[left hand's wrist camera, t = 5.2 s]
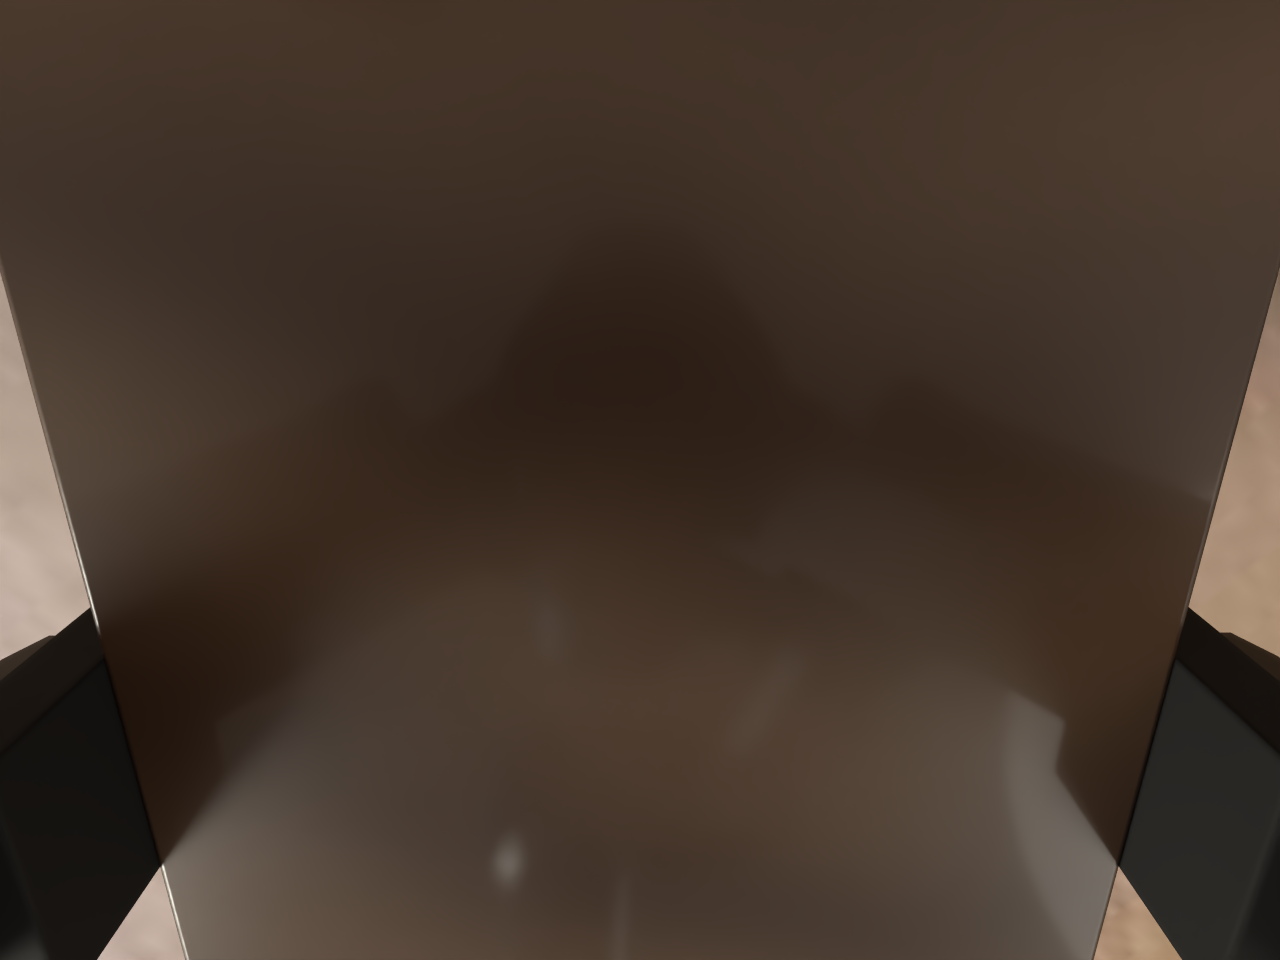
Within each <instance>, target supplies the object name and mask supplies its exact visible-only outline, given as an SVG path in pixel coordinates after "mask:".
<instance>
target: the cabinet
mask: <svg viewBox="0 0 1280 960" xmlns="http://www.w3.org/2000/svg"><path fill="white" fill-rule="evenodd" d="M1279 268H1280V0H0V272H1V276H2V279H3V283H4V287H5V291H6V294H7V298H8V302H9V306H10V309H11V313H12V317H13V320H14V324H15V328H16V332H17V335H18V339H19V343H20V346H21V350H22V354H23V358H24V361H25V365H26V369H27V372H28V376H29V380H30V384H31V387H32V391H33V395H34V399H35V402H36V406H37V410H38V413H39V417H40V421H41V425H42V428H43V432H44V436H45V439H46V443H47V447H48V451H49V454H50V458H51V462H52V465H53V469H54V473H55V477H56V480H57V484H58V488H59V492H60V495H61V499H62V503H63V506H64V510H65V514H66V518H67V521H68V525H69V529H70V532H71V536H72V540H73V544H74V547H75V551H76V555H77V558H78V562H79V566H80V570H81V573H82V577H83V581H84V585H85V588H86V592H87V596H88V599H89V603H90V607H91V611H92V614H93V618H94V622H95V625H96V629H97V633H98V637H99V640H100V644H101V648H102V651H103V655H104V659H105V663H106V666H107V670H108V674H109V678H110V681H111V685H112V689H113V692H114V696H115V700H116V704H117V707H118V711H119V715H120V718H121V722H122V726H123V730H124V733H125V737H126V741H127V744H128V748H129V752H130V756H131V759H132V763H133V767H134V771H135V774H136V778H137V782H138V785H139V789H140V793H141V797H142V800H143V804H144V808H145V811H146V815H147V819H148V823H149V826H150V830H151V834H152V837H153V841H154V845H155V849H156V852H157V856H158V860H159V864H160V867H161V871H162V875H163V878H164V882H165V886H166V890H167V893H168V897H169V901H170V904H171V908H172V912H173V916H174V919H175V923H176V927H177V930H178V934H179V938H180V942H181V945H182V949H183V953H184V957H185V960H1093V959H1094V956H1095V952H1096V948H1097V944H1098V941H1099V937H1100V933H1101V930H1102V926H1103V922H1104V918H1105V915H1106V911H1107V907H1108V904H1109V900H1110V896H1111V892H1112V889H1113V885H1114V881H1115V877H1116V874H1117V870H1118V866H1119V863H1120V859H1121V855H1122V851H1123V848H1124V844H1125V840H1126V837H1127V833H1128V829H1129V825H1130V822H1131V818H1132V814H1133V811H1134V807H1135V803H1136V799H1137V796H1138V792H1139V788H1140V785H1141V781H1142V777H1143V773H1144V770H1145V766H1146V762H1147V759H1148V755H1149V751H1150V747H1151V744H1152V740H1153V736H1154V732H1155V729H1156V725H1157V721H1158V718H1159V714H1160V710H1161V706H1162V703H1163V699H1164V695H1165V692H1166V688H1167V684H1168V680H1169V677H1170V673H1171V669H1172V666H1173V662H1174V658H1175V654H1176V651H1177V647H1178V643H1179V640H1180V636H1181V632H1182V628H1183V625H1184V621H1185V617H1186V613H1187V610H1188V606H1189V602H1190V599H1191V595H1192V591H1193V587H1194V584H1195V580H1196V576H1197V573H1198V569H1199V565H1200V561H1201V558H1202V554H1203V550H1204V547H1205V543H1206V539H1207V535H1208V532H1209V528H1210V524H1211V521H1212V517H1213V513H1214V509H1215V506H1216V502H1217V498H1218V494H1219V491H1220V487H1221V483H1222V480H1223V476H1224V472H1225V468H1226V465H1227V461H1228V457H1229V454H1230V450H1231V446H1232V442H1233V439H1234V435H1235V431H1236V428H1237V424H1238V420H1239V416H1240V413H1241V409H1242V405H1243V402H1244V398H1245V394H1246V390H1247V387H1248V383H1249V379H1250V376H1251V372H1252V368H1253V364H1254V361H1255V357H1256V353H1257V349H1258V346H1259V342H1260V338H1261V335H1262V331H1263V327H1264V323H1265V320H1266V316H1267V312H1268V309H1269V305H1270V301H1271V297H1272V294H1273V290H1274V286H1275V283H1276V279H1277V275H1278V271H1279Z"/></svg>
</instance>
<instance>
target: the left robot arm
mask: <svg viewBox="0 0 1280 960" xmlns="http://www.w3.org/2000/svg"><path fill="white" fill-rule="evenodd" d="M159 867H160V864H159V860H158V856H157V852H156V849H155V845H154V841H153V837H152V834H151V830H150V826H149V823H148V819H147V815H146V811H145V808H144V804H143V800H142V797H141V793H140V789H139V785H138V782H137V778H136V774H135V771H134V767H133V763H132V759H131V756H130V752H129V748H128V744H127V741H126V737H125V733H124V730H123V726H122V722H121V718H120V715H119V711H118V707H117V704H116V700H115V696H114V692H113V689H112V685H111V681H110V678H109V674H108V670H107V666H106V663H105V659H104V655H103V651H102V648H101V644H100V640H99V637H98V633H97V629H96V625H95V622H94V618H93V614H92V611H91V607H90V608H89V609H88V610H86V611H85V612H84V613H83V614H82V615H80V616H79V617H78V618H77V619H75V620H74V621H73V622H72V623H70V624H69V625H68V626H67V627H66V628H64V629H63V630H62V631H61V632H59V633H58V634H57V635H56V636H48V637H46V638H44V639H42V640H40V641H38V642H36V643H34V644H32V645H30V646H28V647H26V648H24V649H22V650H20V651H18V652H16V653H14V654H12V655H10V656H8V657H6V658H4V659H2V660H1V661H0V960H97V959H98V957H99V956H100V954H101V953H102V951H103V950H104V948H105V947H106V945H107V944H108V943H109V941H110V940H111V938H112V937H113V935H114V934H115V932H116V931H117V929H118V928H119V926H120V925H121V923H122V922H123V920H124V919H125V917H126V916H127V915H128V913H129V912H130V910H131V909H132V907H133V906H134V904H135V903H136V901H137V900H138V898H139V897H140V895H141V894H142V892H143V891H144V890H145V888H146V887H147V885H148V884H149V882H150V881H151V879H152V878H153V876H154V875H155V873H156V872H157V870H158V869H159ZM1119 867H1120V869H1121V870H1122V872H1123V873H1124V875H1125V876H1126V878H1127V879H1128V881H1129V882H1130V883H1131V885H1132V886H1133V888H1134V889H1135V891H1136V892H1137V894H1138V895H1139V897H1140V898H1141V900H1142V901H1143V903H1144V904H1145V906H1146V907H1147V909H1148V910H1149V911H1150V913H1151V914H1152V916H1153V917H1154V919H1155V920H1156V922H1157V923H1158V925H1159V926H1160V928H1161V929H1162V931H1163V932H1164V934H1165V935H1166V937H1167V938H1168V939H1169V941H1170V942H1171V944H1172V945H1173V947H1174V948H1175V950H1176V951H1177V953H1178V954H1179V956H1180V957H1181V959H1182V960H1280V658H1279V657H1278V656H1276V655H1274V654H1272V653H1270V652H1268V651H1266V650H1264V649H1262V648H1260V647H1258V646H1256V645H1254V644H1252V643H1250V642H1248V641H1246V640H1244V639H1242V638H1240V637H1238V636H1236V635H1234V634H1232V633H1220V632H1218V631H1217V630H1216V629H1215V628H1213V627H1212V626H1211V625H1210V624H1209V623H1207V622H1206V621H1205V620H1204V619H1202V618H1201V617H1200V616H1199V615H1198V614H1196V613H1195V612H1194V611H1193V610H1191V609H1190V608H1189V607H1188V610H1187V613H1186V617H1185V621H1184V625H1183V628H1182V632H1181V636H1180V640H1179V643H1178V647H1177V651H1176V654H1175V658H1174V662H1173V666H1172V669H1171V673H1170V677H1169V680H1168V684H1167V688H1166V692H1165V695H1164V699H1163V703H1162V706H1161V710H1160V714H1159V718H1158V721H1157V725H1156V729H1155V732H1154V736H1153V740H1152V744H1151V747H1150V751H1149V755H1148V759H1147V762H1146V766H1145V770H1144V773H1143V777H1142V781H1141V785H1140V788H1139V792H1138V796H1137V799H1136V803H1135V807H1134V811H1133V814H1132V818H1131V822H1130V825H1129V829H1128V833H1127V837H1126V840H1125V844H1124V848H1123V851H1122V855H1121V859H1120V863H1119Z"/></svg>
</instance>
